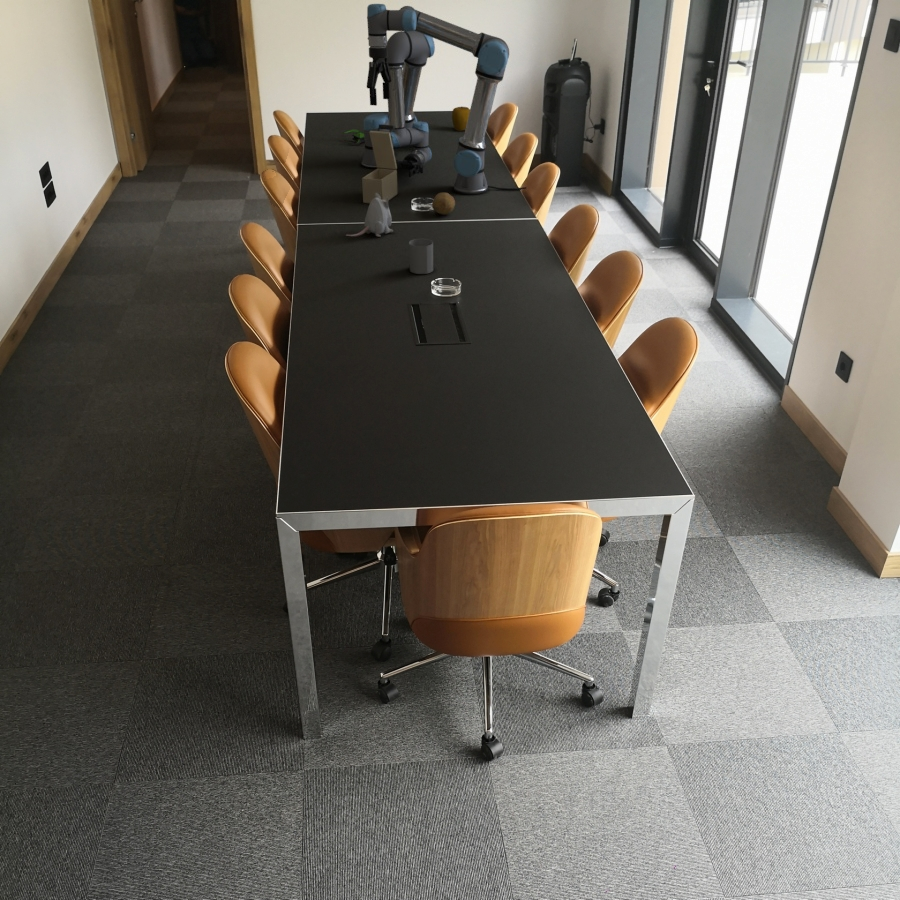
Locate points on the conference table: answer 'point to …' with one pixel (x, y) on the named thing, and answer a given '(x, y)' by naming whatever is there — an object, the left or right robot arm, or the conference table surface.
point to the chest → (379, 184)
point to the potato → (443, 203)
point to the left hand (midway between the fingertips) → (395, 172)
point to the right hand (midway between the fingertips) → (380, 102)
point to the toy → (377, 217)
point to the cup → (421, 256)
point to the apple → (460, 118)
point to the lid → (383, 147)
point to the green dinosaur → (356, 137)
